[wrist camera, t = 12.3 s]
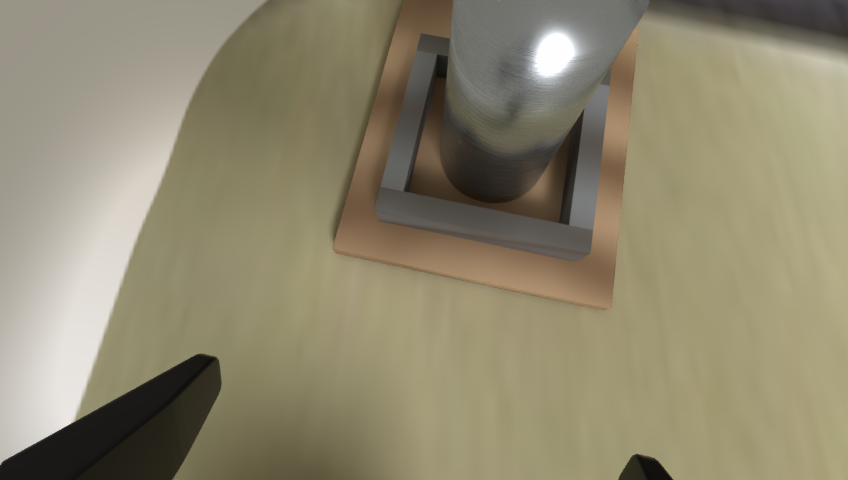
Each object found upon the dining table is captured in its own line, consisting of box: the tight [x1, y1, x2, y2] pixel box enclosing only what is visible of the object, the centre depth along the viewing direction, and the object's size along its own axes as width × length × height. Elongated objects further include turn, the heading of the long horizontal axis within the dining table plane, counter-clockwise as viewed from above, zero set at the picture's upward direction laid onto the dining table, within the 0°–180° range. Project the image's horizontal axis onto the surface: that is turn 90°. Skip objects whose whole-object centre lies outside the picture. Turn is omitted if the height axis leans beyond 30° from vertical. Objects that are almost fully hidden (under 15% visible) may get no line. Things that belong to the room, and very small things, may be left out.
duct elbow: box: [440, 0, 649, 203], centre depth 19 cm, size 10×6×12 cm, turn 168°
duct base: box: [332, 0, 639, 310], centre depth 25 cm, size 18×15×3 cm
